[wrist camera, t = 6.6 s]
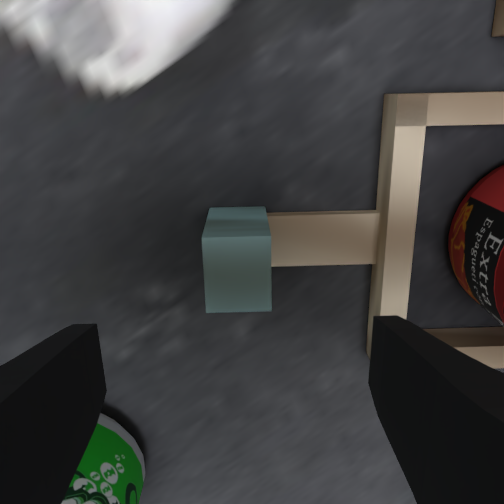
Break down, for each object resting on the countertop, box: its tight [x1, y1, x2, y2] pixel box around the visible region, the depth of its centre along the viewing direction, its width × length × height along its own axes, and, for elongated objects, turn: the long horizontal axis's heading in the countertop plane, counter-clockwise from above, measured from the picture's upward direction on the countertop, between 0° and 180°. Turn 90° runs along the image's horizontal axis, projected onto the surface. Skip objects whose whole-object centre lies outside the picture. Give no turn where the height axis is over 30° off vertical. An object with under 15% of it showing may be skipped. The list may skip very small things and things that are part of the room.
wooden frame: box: [202, 91, 504, 368], centre depth 19 cm, size 12×20×4 cm, turn 91°
